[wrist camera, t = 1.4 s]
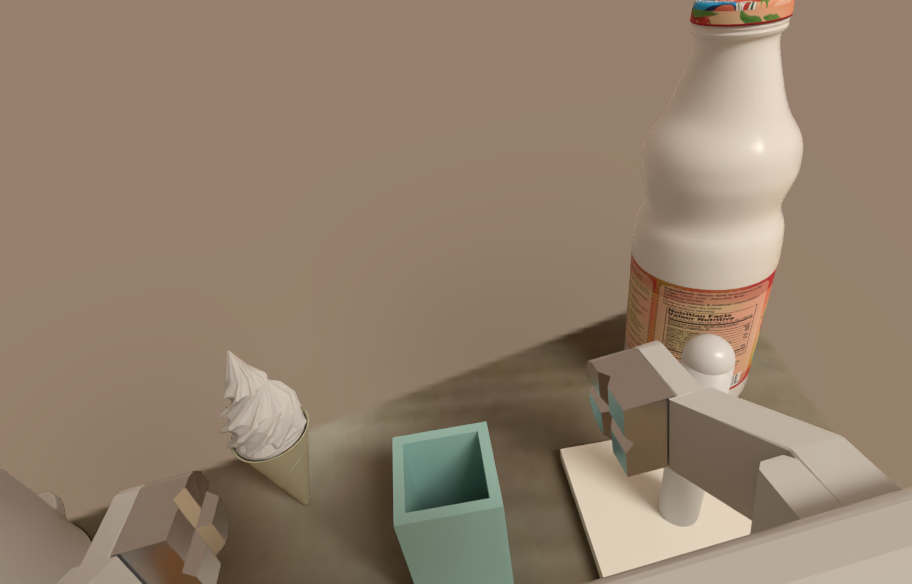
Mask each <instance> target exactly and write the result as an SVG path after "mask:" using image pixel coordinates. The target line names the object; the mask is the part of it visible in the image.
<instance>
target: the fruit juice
mask: <svg viewBox="0 0 912 584" xmlns="http://www.w3.org/2000/svg"><path fill="white" fill-rule="evenodd" d="M793 8H794V0H696V1H695V2H694V5H693V8H692V13H691V19H690V21H691V28H690V31H691V33H692V35H694V45H693V48H692V51H691V54H690V56H689V59H688V61H687V63H686V66H685V68H684V71H683V73H682V75H681V78H680V80H679V82H678V84H677V87H676V89H675V91H674V93H673V95H672V97H671V99H670V101H669V103H668V105H667V106H666V108H665V109H664V111H663V112H662V114H661V115H660V117H659V118H658V119H657V121H656V122H655V123H654V125H653V126H652V128H651V129H650V130H649V132H648V133H647V135H646V138H645V140H644V143H643V147H642V153H641V160H640V167H641V174H642V180H643V184H644V188H645V198H644V200H643V202H642V204H641V206H640V207H639V210H638V212H637V215H636V219H635V224H634V230H633V237H632V249H631V250H632V251H631V266H630V280H629V294H628V307H627V320H626V334H625V347H624V350H627V349H630V348H634V347H636V346H639V345H643V344H646V343H649V342H653V341H656V340H657V341H659V342H661V343H662V344H663V345H664V346H665V347H666V348H667V349H668V350H669V352H670V353H671V354H672V355H673V356H674V357H675V358H676V359H677V360H678V361H679V363H681V357H682V352H683V349H684V346H685V345H686V343H687V342H688V341H689V340H690V339H692V338H693V337H695V336H698V335H701V334H714V335H717V336H720V337H722V338H723V339H725V340H726V341H727V342H728V343H729V344H730V345H731V346H732V348H733V350H734V353H735V358H736V361H735V367H734V371H733V375H732V380H731V384H730V388H729V392H728V394H730V395H733V396H735V397H738V396H739V395H740V394H741V392H742V390H743V388H744V386H745V384H746V381H747V378H748V374H749V370H750V366H751V363H752V359H753V355H754V351H755V347H756V344H757V340H758V336H759V332H760V328H761V325H762V321H763V317H764V313H765V309H766V305H767V302H768V298H769V294H770V290H771V286H772V282H773V279H774V275H775V272H776V268H777V265H778V261H779V258H780V253H781V247H782V243H783V236H784V218H783V214H782V211H781V204H782V201H783V199H784V197H785V196H786V194H787V192H788V191H789V189H790V187H791V186H792V184H793V182H794V180H795V179H796V177H797V175H798V172H799V170H800V166H801V160H802V155H803V140H802V135H801V132H800V130H799V127H798V126H797V124H796V122H795V120H794V118H793V116H792V114H791V112H790V109H789V106H788V103H787V98H786V93H785V87H784V80H783V72H782V63H781V54H780V38H781V33H782V31H783V30H785V29H786V28H787V27H788V25H789V20H790V18H791V16H792V14H793Z"/></svg>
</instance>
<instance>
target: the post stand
mask: <svg viewBox="0 0 912 584" xmlns="http://www.w3.org/2000/svg"><path fill="white" fill-rule="evenodd" d="M735 361H736V358H735V353H734V350H733V348H732V346H731V345H730V344H729V343H728V342H727V341H726V340H725V339H723V338H722V337H720V336H717V335H714V334H701V335H698V336H695V337H693V338H692V339H690V340H689V341H688V342H687V343H686V345H685V346H684V349H683V352H682V357H681V363H680V364H681V365H682V366H683V367H684V368H685V369H686V370H687V371H688V373H689V374H690V375H691V376H692V377H693V378H694V379H695V380H696V381H697V383H698V384H699V385H700V386H701V387H702V388H703V389H706V388H709V387H711V388H714V389H717V390H719V391H722V392H725V393H727V394H728V392H729V388H730V384H731V380H732V375H733V371H734V367H735ZM560 458H561V461H562V464H563V467H564V470H565V473H566V476H567V479H568V482H569V485H570V488H571V491H572V494H573V497H574V500H575V504H576V507H577V510H578V513H579V516H580V519H581V522H582V525H583V528H584V531H585V534H586V537H587V540H588V543H589V546H590V549H591V552H592V555H593V558H594V561H595V564H596V567H597V570H598V573H599V576H600V578H603V577H607V576H610V575H613V574H617V573H620V572H623V571H627V570H630V569H634V568H637V567H640V566H644V565H647V564H651V563H654V562H657V561H661V560H664V559H667V558H671V557H674V556H678V555H681V554H684V553H688V552H691V551H695V550H698V549H701V548H705V547H708V546H712V545H715V544H718V543H722V542H725V541H728V540H732V539H735V538H739V537H742V536H745V535H749V534H750V531H751V524H752V521H751V520H750V519H748V518H747V517H745V516H744V515H742V514H740V513H739V512H737V511H736V510H734V509H732V508H731V507H729V506H728V505H726V504H725V503H723V502H721V501H720V500H718V499H717V498H715V497H714V496H712V495H710V494H709V493H707V492H706V491H704V490H702V489H701V488H699V487H698V486H696V485H695V484H693V483H691V482H690V481H688V480H687V479H685V478H683V477H682V476H680V475H679V474H677V473H676V472H674V471H672V470H671V469H669V467H665V468H661V469H657V470H653V471H649V472H645V473H641V474H638V475H634V476H630V477H627V475H626V474H625V472H624V470H623V468H622V467H621V465H620V463H619V461H618V460H617V458H616V456H615V454H614V453H613V447H612V440H609V441H604V442H598V443H592V444H586V445H581V446H575V447H569V448H564V449H560Z"/></svg>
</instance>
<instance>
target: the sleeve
mask: <svg viewBox="0 0 912 584" xmlns="http://www.w3.org/2000/svg"><path fill="white" fill-rule="evenodd" d="M393 526H394V529H395V532H396V534H397V537H398V540H399V543H400V546H401V549H402V551H403V554H404V557H405V560H406V563H407V565H408V568H409V571H410V574H411V577H412V580H413V582H414V584H514V581H513V573H512V566H511V558H510V551H509V543H508V536H507V528H506V521H505V513H504V506H503V501H502V496H501V491H500V487H499V482H498V477H497V472H496V467H495V462H494V457H493V452H492V447H491V442H490V437H489V433H488V428H487V423H486V422H480V423H474V424H469V425H463V426H457V427H451V428H446V429H440V430H434V431H428V432H423V433H417V434H411V435H405V436H400V437H394V438H393Z"/></svg>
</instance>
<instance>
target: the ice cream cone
mask: <svg viewBox="0 0 912 584" xmlns="http://www.w3.org/2000/svg"><path fill="white" fill-rule="evenodd" d="M224 388H227V390H226V392H225V394H224V398H229V399H230V400H231V401H232V403H231V405H230V406H229V407H226V408H225V409H224V410H223V411H222V412H221V413H220V415H219V417H220V418H222V417H228V418H229V420H228V422H227V425H225V426H224V427H223V428H221V429H220V433H226V432H231V433H233V434H232V437H231V441H229V442H228V444H227V446H228V447H229V448H231V450H232V453H233V454H234V455H235V456H236V457H237V458H238V459H239V460H241V461H244V462H247V463H248V464H250V465H251V466H252V467H254V468H255V469H256V470H258V471H259V472H260V473H262V474H263V475H264V476H266V477H267V478H269V479H270V480H271V481H272V482H274V483H275V484H276V485H278V486H279V487H280V488H282V489H283V490H284V491H286V492H287V493H288V494H290V495H291V496H293V497H294V498H295V499H297V500H298V501H299V502H301V503H302V504H303V505H308V504H309V502H310V492H309V458H308V432H307V429H308V424H309V416H308V413H307V411H306V409H305V408H304V407H303V406H301V405H300V403H299V400H298V398H297V396H296V393H295V391H294V390H292V389H290V388H289V387H288V386H286V385H285V384H283V383H282V382H280V381H277V380H268V378H267V375H266V373H265V372H263V371H260V370H258V369H256V368H254V367H251V366H249V365H247V364H246V363H245V362H243V361H242V360H240V359H239V358H238V357H236V356H235V355H234V354H232V353H231V352H230V351H229V350H228V351H227V373H226V381H225V385H224Z"/></svg>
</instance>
